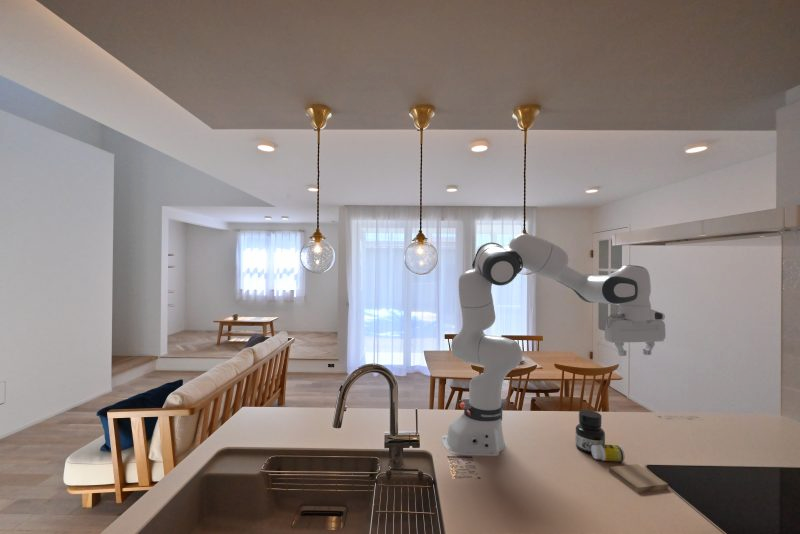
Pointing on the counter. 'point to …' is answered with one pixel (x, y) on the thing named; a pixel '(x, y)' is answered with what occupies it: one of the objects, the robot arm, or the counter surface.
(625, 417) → the counter surface
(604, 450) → the supplement bottle
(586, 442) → the ink bottle
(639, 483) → the tan slab
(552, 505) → the counter surface
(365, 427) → the counter surface
